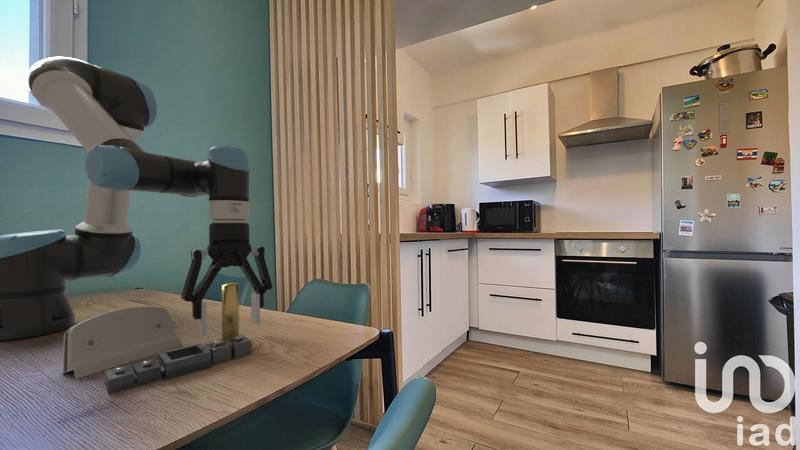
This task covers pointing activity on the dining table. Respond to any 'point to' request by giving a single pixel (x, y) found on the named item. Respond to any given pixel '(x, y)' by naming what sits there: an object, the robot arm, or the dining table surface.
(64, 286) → the robot arm
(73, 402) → the dining table surface
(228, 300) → the link pin
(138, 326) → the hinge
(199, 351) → the chain end
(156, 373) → the chain end
